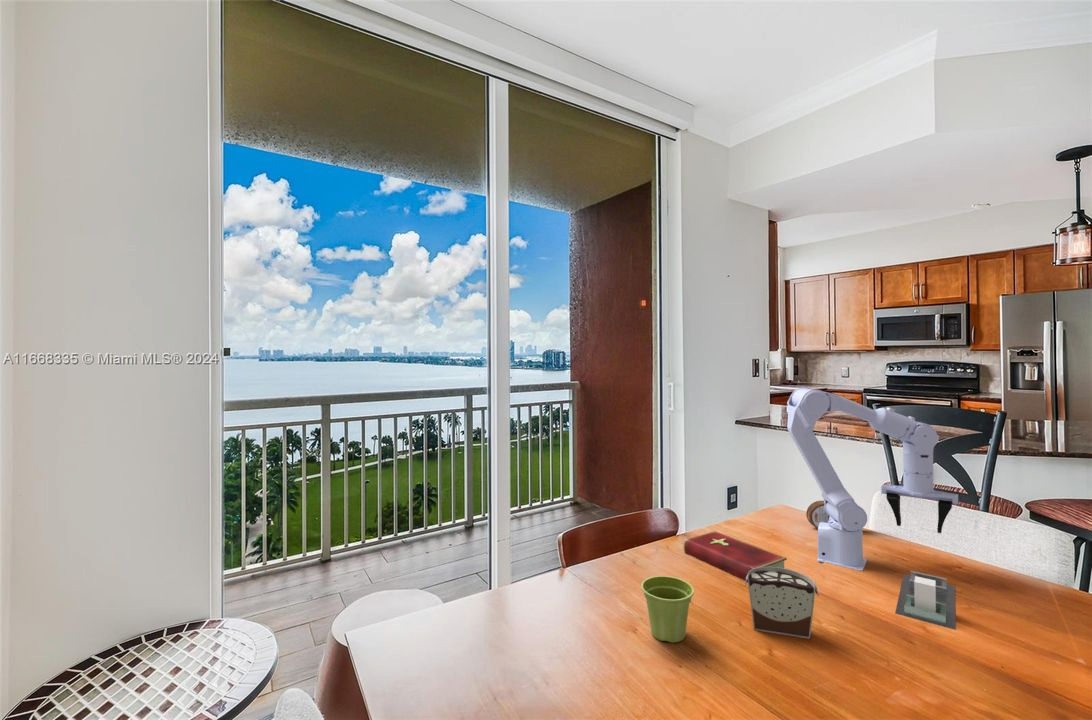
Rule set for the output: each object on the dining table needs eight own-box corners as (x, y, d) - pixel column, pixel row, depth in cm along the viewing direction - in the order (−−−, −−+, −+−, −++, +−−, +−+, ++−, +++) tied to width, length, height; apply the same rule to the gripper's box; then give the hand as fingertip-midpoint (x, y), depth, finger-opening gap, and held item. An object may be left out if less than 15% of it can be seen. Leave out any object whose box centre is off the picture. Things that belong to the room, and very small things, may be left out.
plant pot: (665, 655, 82) (665, 604, 82) (631, 628, 90) (631, 582, 90) (705, 640, 86) (705, 592, 86) (669, 615, 94) (669, 571, 94)
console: (895, 615, 93) (895, 605, 93) (903, 575, 110) (903, 567, 110) (955, 631, 87) (955, 621, 87) (954, 587, 104) (954, 578, 104)
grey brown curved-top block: (812, 622, 91) (811, 570, 91) (819, 640, 85) (818, 584, 85) (743, 611, 95) (742, 561, 95) (745, 628, 89) (744, 575, 89)
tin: (860, 529, 140) (860, 501, 140) (866, 533, 137) (865, 504, 137) (805, 527, 142) (805, 499, 142) (810, 531, 139) (809, 502, 139)
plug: (914, 612, 94) (914, 581, 94) (915, 604, 96) (915, 575, 96) (935, 617, 91) (935, 586, 91) (936, 609, 94) (935, 579, 94)
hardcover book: (753, 587, 106) (753, 568, 106) (683, 554, 125) (683, 538, 125) (786, 574, 112) (786, 556, 112) (715, 545, 131) (715, 529, 131)
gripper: (879, 470, 116) (880, 526, 116) (958, 479, 107) (958, 540, 107) (882, 465, 121) (883, 518, 121) (957, 473, 112) (958, 531, 112)
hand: (918, 528), depth 114 cm, fingers open, 7 cm apart
